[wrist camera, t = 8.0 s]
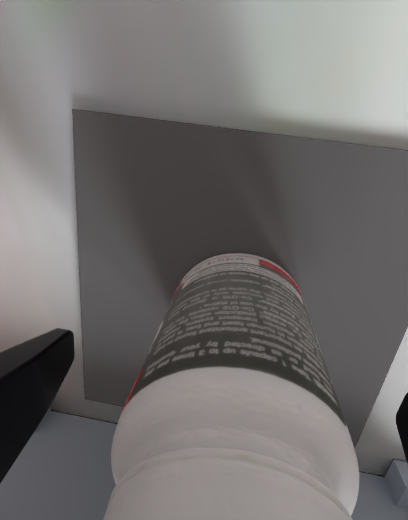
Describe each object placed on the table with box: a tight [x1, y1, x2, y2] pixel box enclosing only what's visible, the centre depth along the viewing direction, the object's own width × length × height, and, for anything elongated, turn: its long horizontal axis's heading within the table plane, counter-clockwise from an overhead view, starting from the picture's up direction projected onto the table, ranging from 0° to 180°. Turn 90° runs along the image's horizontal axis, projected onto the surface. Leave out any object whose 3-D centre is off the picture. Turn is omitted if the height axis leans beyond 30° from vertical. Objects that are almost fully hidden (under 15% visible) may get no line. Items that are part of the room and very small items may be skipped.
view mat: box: [72, 109, 408, 449], centre depth 12 cm, size 12×12×1 cm
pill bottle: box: [103, 253, 359, 520], centre depth 8 cm, size 5×5×8 cm
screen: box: [0, 405, 408, 520], centre depth 13 cm, size 20×4×6 cm, turn 84°
